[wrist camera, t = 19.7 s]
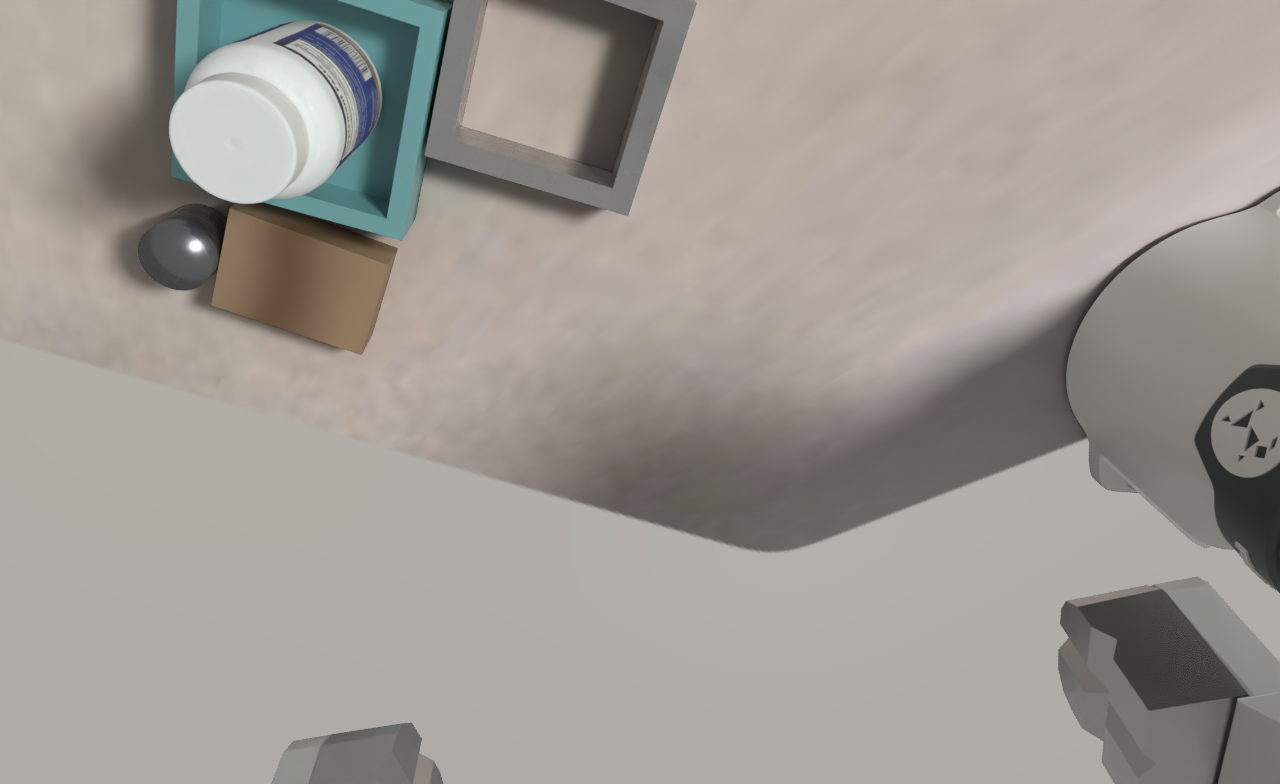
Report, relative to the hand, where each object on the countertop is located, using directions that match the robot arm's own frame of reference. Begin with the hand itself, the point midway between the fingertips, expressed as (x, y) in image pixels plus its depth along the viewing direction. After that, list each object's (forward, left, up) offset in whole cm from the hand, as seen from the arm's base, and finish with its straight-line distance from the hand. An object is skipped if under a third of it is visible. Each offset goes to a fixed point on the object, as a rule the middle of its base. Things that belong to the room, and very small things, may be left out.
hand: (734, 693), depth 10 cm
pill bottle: (+13, +2, -30) cm, 33 cm away
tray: (+13, +2, -31) cm, 34 cm away
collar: (+4, -1, -31) cm, 31 cm away
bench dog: (+18, +11, -31) cm, 38 cm away
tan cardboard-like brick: (+13, +11, -32) cm, 36 cm away
